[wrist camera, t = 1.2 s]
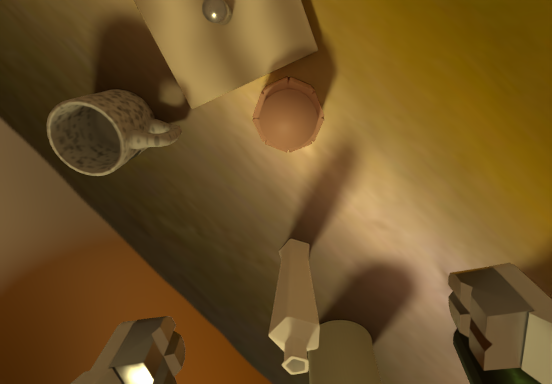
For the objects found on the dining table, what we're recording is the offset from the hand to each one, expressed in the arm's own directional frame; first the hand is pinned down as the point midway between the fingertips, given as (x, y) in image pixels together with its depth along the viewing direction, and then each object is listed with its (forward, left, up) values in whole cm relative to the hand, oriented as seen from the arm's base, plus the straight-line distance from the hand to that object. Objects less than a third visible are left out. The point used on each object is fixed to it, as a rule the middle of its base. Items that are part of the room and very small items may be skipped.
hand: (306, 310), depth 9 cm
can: (+6, +31, -25) cm, 41 cm away
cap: (0, -2, -25) cm, 25 cm away
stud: (+2, -11, -23) cm, 26 cm away
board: (+2, -12, -25) cm, 27 cm away
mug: (+15, -6, -25) cm, 30 cm away
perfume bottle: (+6, +14, -25) cm, 29 cm away
